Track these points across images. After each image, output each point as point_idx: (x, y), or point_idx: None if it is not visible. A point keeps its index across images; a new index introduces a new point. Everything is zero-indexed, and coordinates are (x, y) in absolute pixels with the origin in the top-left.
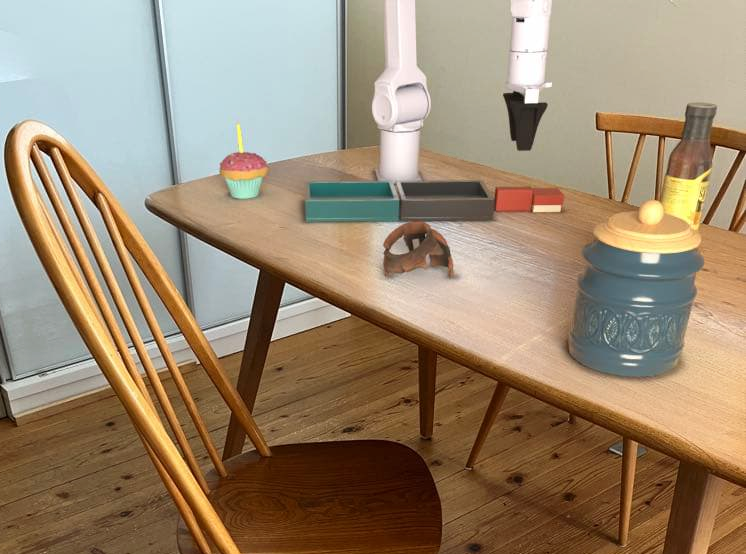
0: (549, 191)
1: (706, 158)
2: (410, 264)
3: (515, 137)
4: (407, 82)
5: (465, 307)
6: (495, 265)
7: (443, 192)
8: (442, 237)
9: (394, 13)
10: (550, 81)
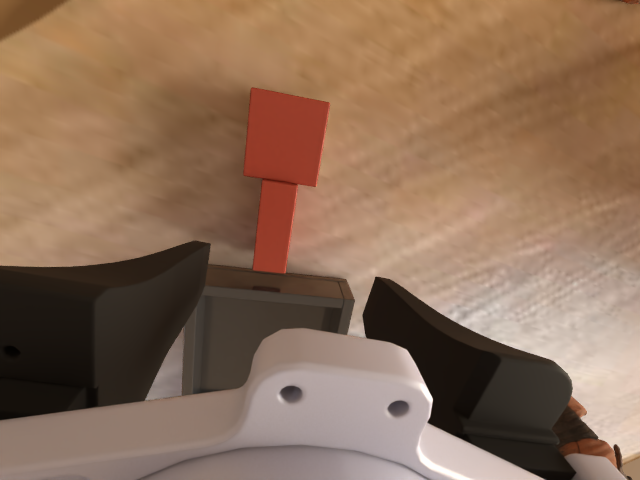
0: (285, 130)
1: None
2: None
3: (201, 281)
4: None
5: None
6: (552, 333)
7: (200, 350)
8: (609, 457)
9: None
10: (331, 382)
